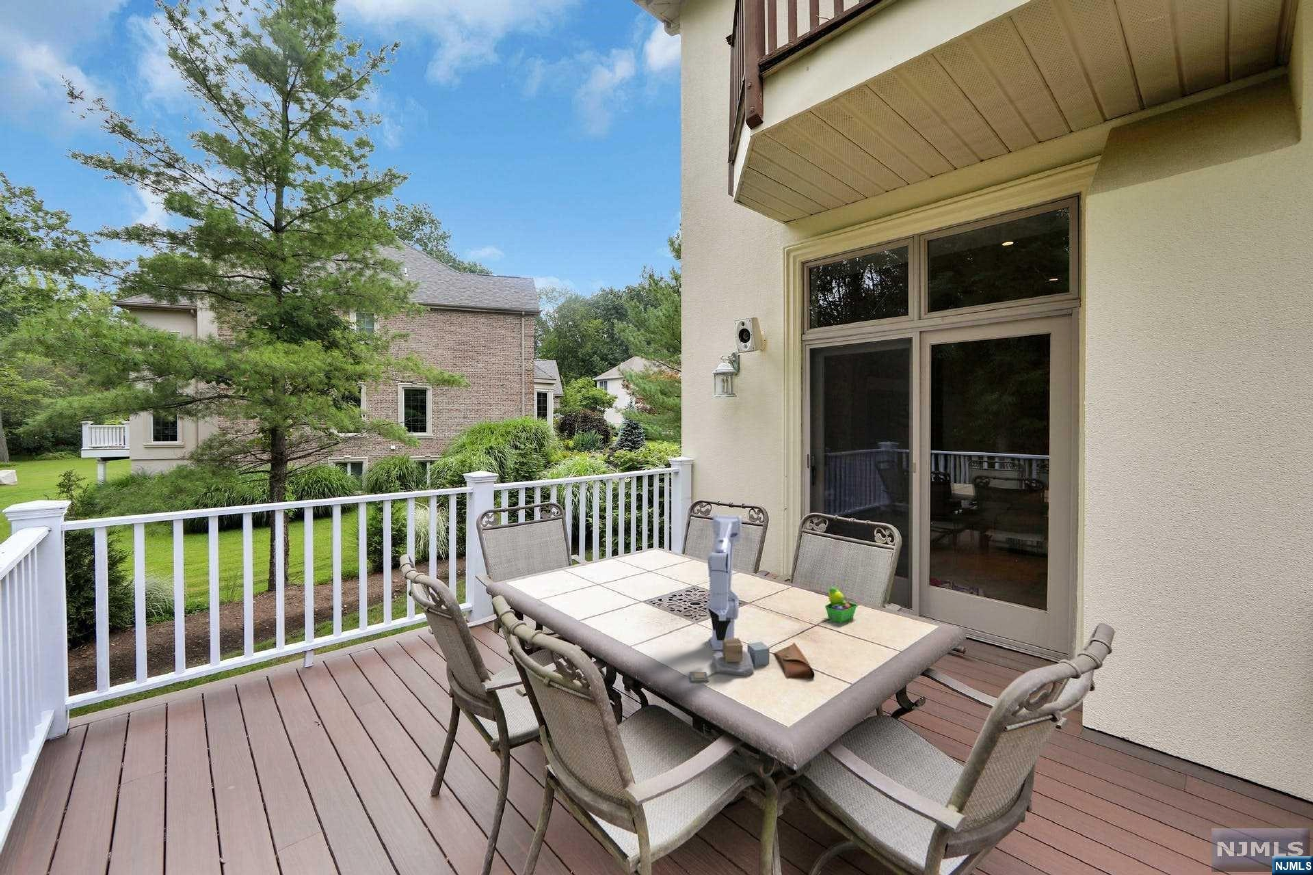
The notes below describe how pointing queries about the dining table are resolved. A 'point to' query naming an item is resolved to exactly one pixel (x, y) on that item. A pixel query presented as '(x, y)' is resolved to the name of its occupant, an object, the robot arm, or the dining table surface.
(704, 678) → the tile
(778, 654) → the sunglasses case
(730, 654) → the walnut cube
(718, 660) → the stone block
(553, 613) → the dining table surface
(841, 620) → the fruit basket
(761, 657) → the blue-grey cube
